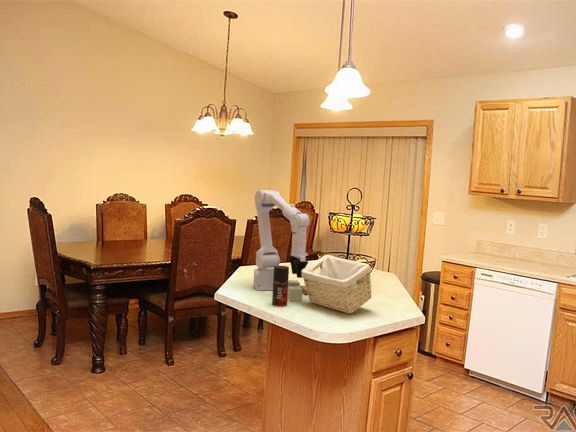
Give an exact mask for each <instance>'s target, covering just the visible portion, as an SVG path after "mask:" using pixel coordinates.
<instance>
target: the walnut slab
mask: <svg viewBox="0 0 576 432" xmlns="http://www.w3.org/2000/svg"><path fill="white" fill-rule="evenodd" d="M300 287H301V288H302V289H303V290H302V293H303V294H304V295H305V297H308V296H307V295H308V293H307V290H306V287H305V284H304V285H301V284H300ZM303 294H302V295H303ZM304 295H303V296H304Z"/></svg>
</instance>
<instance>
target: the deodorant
mask: <svg viewBox="0 0 576 432" xmlns="http://www.w3.org/2000/svg"><path fill="white" fill-rule="evenodd" d="M289 271H290V267H289V266H287V265H279V266H274V275H273V290H272V299H271V305H272V306H274V307H281V308H282V307H286V306H287V305H288V298H287V296H288V280H289Z"/></svg>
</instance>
